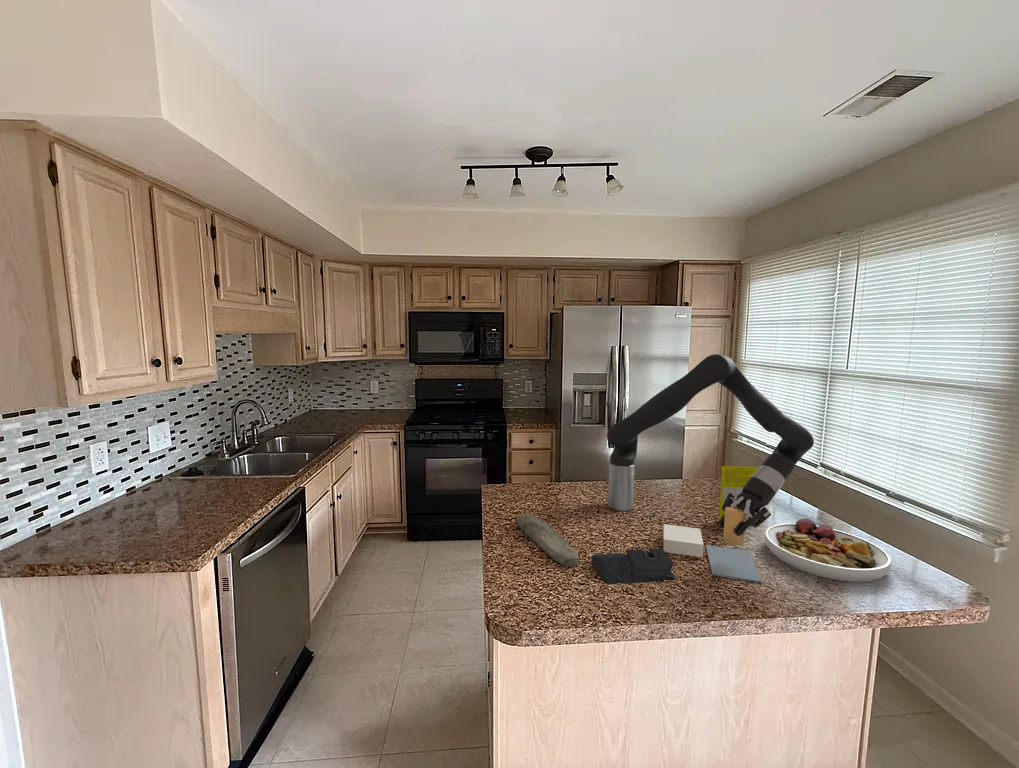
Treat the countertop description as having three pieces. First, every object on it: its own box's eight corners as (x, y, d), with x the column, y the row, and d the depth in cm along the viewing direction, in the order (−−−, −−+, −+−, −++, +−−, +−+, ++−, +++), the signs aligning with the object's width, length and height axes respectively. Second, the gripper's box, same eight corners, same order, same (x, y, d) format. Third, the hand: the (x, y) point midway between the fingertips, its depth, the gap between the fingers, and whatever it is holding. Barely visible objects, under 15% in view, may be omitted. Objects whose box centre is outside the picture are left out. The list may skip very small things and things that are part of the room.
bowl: (918, 593, 113) (920, 564, 112) (789, 581, 118) (791, 553, 117) (850, 542, 142) (852, 518, 141) (749, 534, 147) (751, 511, 147)
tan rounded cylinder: (724, 543, 125) (726, 512, 124) (722, 536, 130) (723, 506, 129) (744, 545, 123) (745, 514, 123) (741, 538, 128) (742, 508, 127)
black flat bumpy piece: (586, 558, 130) (586, 543, 130) (657, 555, 133) (657, 539, 133) (603, 587, 115) (604, 569, 115) (682, 582, 118) (683, 565, 117)
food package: (763, 521, 157) (766, 467, 156) (764, 523, 156) (767, 467, 154) (718, 519, 159) (721, 465, 157) (719, 521, 158) (722, 466, 156)
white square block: (663, 551, 134) (664, 539, 134) (663, 535, 145) (663, 524, 145) (702, 557, 130) (703, 544, 130) (699, 540, 142) (700, 528, 141)
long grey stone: (557, 575, 123) (587, 570, 127) (558, 557, 122) (589, 553, 126) (509, 522, 155) (534, 519, 159) (510, 507, 154) (535, 505, 158)
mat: (712, 575, 121) (712, 573, 120) (705, 546, 138) (705, 545, 137) (761, 583, 117) (761, 581, 117) (748, 552, 134) (749, 551, 134)
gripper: (737, 470, 134) (703, 512, 131) (778, 484, 120) (741, 532, 118) (750, 485, 136) (716, 527, 133) (792, 501, 122) (756, 548, 120)
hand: (728, 529), depth 126 cm, fingers closed on tan rounded cylinder, 5 cm apart
